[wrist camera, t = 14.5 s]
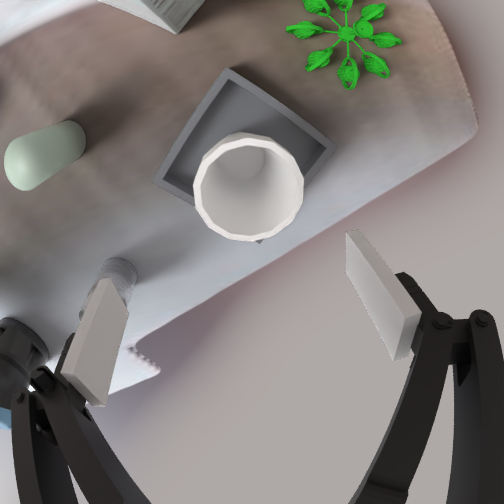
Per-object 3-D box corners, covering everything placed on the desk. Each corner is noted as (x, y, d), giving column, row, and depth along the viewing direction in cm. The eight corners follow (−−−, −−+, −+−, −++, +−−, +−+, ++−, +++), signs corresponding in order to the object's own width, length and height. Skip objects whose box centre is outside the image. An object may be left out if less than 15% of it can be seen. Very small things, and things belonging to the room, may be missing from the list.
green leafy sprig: (279, -19, 25) (290, -37, 19) (387, -3, 25) (414, -12, 19) (285, 87, 33) (299, 88, 27) (392, 93, 33) (420, 99, 27)
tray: (257, 231, 43) (260, 243, 40) (157, 173, 37) (151, 182, 34) (328, 141, 36) (337, 146, 33) (225, 68, 31) (226, 66, 28)
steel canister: (129, 294, 47) (113, 343, 37) (97, 277, 44) (75, 325, 35) (142, 269, 44) (126, 318, 35) (108, 251, 42) (84, 298, 33)
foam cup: (245, 104, 32) (257, 114, 21) (293, 159, 37) (324, 196, 26) (187, 155, 35) (170, 191, 24) (236, 204, 39) (243, 259, 28)
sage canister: (75, 170, 35) (34, 200, 25) (44, 150, 33) (-1, 175, 23) (93, 132, 33) (51, 152, 23) (60, 113, 30) (13, 127, 21)
